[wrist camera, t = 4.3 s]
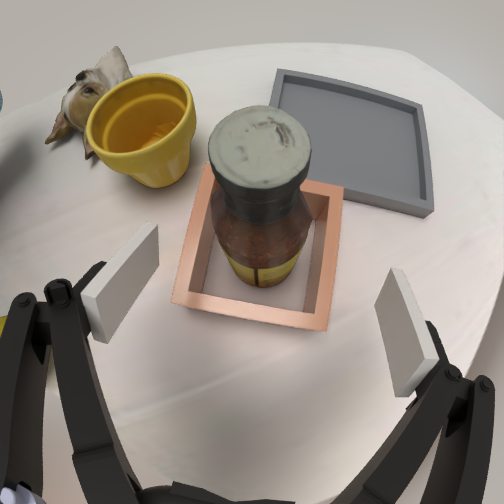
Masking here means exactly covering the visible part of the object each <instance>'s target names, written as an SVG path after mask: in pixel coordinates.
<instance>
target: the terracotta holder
mask: <svg viewBox="0 0 504 504" xmlns="http://www.w3.org/2000/svg"><path fill="white" fill-rule="evenodd" d="M219 187H220V184H219V183H218V182H217V180H216V179H215V176H214V174H213V172H212V168H211V165H210V164H208V163H205V166H204V169H203V173H202V176H201V180H200V183H199V187H198V190H197V194H196V198H195V202H194V205H193V209H192V213H191V217H190V221H189V225H188V229H187V233H186V237H185V241H184V245H183V249H182V253H181V257H180V262H179V266H178V270H177V275H176V279H175V284H174V289H173V293H172V298H171V303H173V304H177V305H180V306H183V307H187V308H192V309H196V310H201V311H206V312H210V313H215V314H220V315H225V316H230V317H236V318H241V319H246V320H252V321H257V322H263V323H269V324H274V325H280V326H286V327H293V328H299V329H305V330H312V331H327V327H328V321H329V315H330V308H331V302H332V295H333V288H334V280H335V272H336V264H337V256H338V247H339V238H340V228H341V217H342V205H343V192H344V187H341V186H336V185H332V184H327V183H322V182H317V181H312V180H307V179H305V180H304V182H303V183H302V184H301V185H300V190H301V192H302V194H303V196H304V198H305V200H306V203H307V205H308V207H309V209H310V212H311V214H312V216H313V218H312V219H315V220H316V227H315V234H314V242H313V249H312V257H311V264H310V271H309V277H308V284H307V290H306V297H305V303H304V309H303V312H298V311H292V310H286V309H280V308H274V307H268V306H263V305H257V304H252V303H246V302H241V301H236V300H230V299H225V298H220V297H215V296H210V295H205V294H202V289H203V284H204V279H205V275H206V270H207V265H208V261H209V256H210V252H211V247H212V243H213V238H214V234H215V230H214V227H213V224H212V214H211V198H212V194H213V193H214V192H215V191H216V190H217V189H218V188H219Z"/></svg>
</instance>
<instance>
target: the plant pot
mask: <svg viewBox="0 0 504 504" xmlns="http://www.w3.org/2000/svg"><path fill="white" fill-rule="evenodd" d="M195 129H196V112H195V106H194V102H193V98H192V94H191V92H190V89H189V88H188V86H187V85H186V84H185V83H184V82H183V81H182V80H180V79H178V78H176V77H174V76H171V75H168V74H161V73H151V74H144V75H139V76H136V77H133V78H130V79H128V80H125V81H123V82H122V83H120V84H118V85H116V86H115V87H113V88H112V89H111V90H109V91H108V92H107V93H106V94H105V95H104V96H103V97H102V98H101V99H100V100H99V101H98V102H97V104H96V105H95V106H94V108H93V109H92V111H91V113H90V115H89V118H88V121H87V126H86V136H87V140H88V142H89V145H90V146H91V148H92V149H93V150H94V152H95V153H96V154H97V156H98V157H99V158H100V159H101V160H102V161H103V162H104V163H105V164H106V165H107V166H108V167H109V168H110V169H112V170H114V171H116V172H119V173H124V174H128V175H130V176H131V177H133V178H134V179H136V180H137V181H139V182H140V183H142V184H143V185H145V186H148V187H152V188H161V187H165V186H168V185H171V184H173V183H174V182H176V181H177V180H178V179H180V178H181V177H182V176H183V174H184V173H185V171H186V170H187V167H188V164H189V156H190V141H191V139H192V137H193V135H194V132H195Z"/></svg>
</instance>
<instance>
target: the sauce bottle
mask: <svg viewBox="0 0 504 504" xmlns="http://www.w3.org/2000/svg"><path fill="white" fill-rule="evenodd" d="M311 153H312V149H311V141H310V137H309V134H308V132H307V131H306V129H305V128H304V127H303V126H302V124H301V123H300V122H299V121H298V120H296V119H295V118H294V117H293V116H291V115H290V114H288V113H286V112H285V111H283V110H280V109H276V108H274V107H270V106H251V107H247V108H243V109H240V110H237V111H234V112H233V113H231V114H230V115H228V116H227V117H225V118H224V119H223V120H222V121H220V122H219V123H218V124H217V125H216V127H215V129H214V131H213V132H212V134H211V136H210V138H209V143H208V155H209V160H210V165H211V168H212V172H213V174H214V176H215V179H216V180H217V182H218V183H219V184H220V187H219V188H218V189H217V190H216V191H215V192H214V193H213V194H212V198H211V214H212V224H213V227H214V230H215V232H216V234H217V237H218V240H219V243H220V245H221V247H222V249H223V251H224V253H225V255H226V256H227V258H228V260H229V262H230V264H231V266H232V268H233V270H234V271H235V273H236V274H237V275H238V276H239V277H240V278H241V279H242V280H243V281H245V282H246V283H248V284H250V285H253V286H256V287H269V286H272V285H275V284H278V283H280V282H281V281H283V280H284V279H285V278H286V277H287V276H288V275H289V274H290V272H291V271H292V269H293V267H294V265H295V263H296V261H297V259H298V257H299V255H300V252H301V250H302V248H303V246H304V243H305V241H306V238H307V235H308V230H309V228H310V224H311V222H312V218H313V216H312V214H311V212H310V209H309V207H308V205H307V203H306V200H305V198H304V196H303V194H302V192H301V190H300V185H301V184H302V183H303V182H304V180H305V179H306V177H307V175H308V171H309V166H310V159H311Z"/></svg>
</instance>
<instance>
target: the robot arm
mask: <svg viewBox="0 0 504 504" xmlns="http://www.w3.org/2000/svg"><path fill="white" fill-rule="evenodd" d="M2 103H3V99H2V94H1V91H0V111H1V109H2ZM158 266H159V246H158V224H155V223H149V222H145V223H144V224H143V225H142V226H141V227H140V228H139V229H138V230H137V231H136V232H135V233H134V235H133V236H132V237H131V238H130V239H129V240H128V241H127V242H126V243H125V244H124V245H123V246H122V247H121V248H120V249H119V250H118V251H117V253H116V254H115V255H114V256H113V257H112V258H111V259H110V260H109V261H108V262H103V261H101V262H99V263H97V264H95V265H93V266H92V267H91V268H90V269H89V271H88V272H87V273H86V274H85V275H84V276H83V278H81V279H80V280H79V281H78V283H77V284H76V285H75V286H74V287H73V288H72V285H71V283H70V281H68V280H67V279H55V280H53V281H51V282H49V283H48V284H47V285H46V286H45V288H44V294H45V297H46V300H47V302H37V299H36V297H35V295H34V294H33V293H30V292H25V293H21V294H19V295H18V296H16V297H15V298H14V300H13V302H12V304H11V307H10V310H9V312H8V315H7V318H6V321H5V324H4V327H3V330H2V334H1V337H0V504H46V502H45V501H44V500H43V499H42V490H43V461H42V460H43V458H42V437H43V412H44V398H45V387H46V378H47V370H48V362H49V355H50V349H51V345H52V349H53V357H54V364H55V370H56V376H57V382H58V388H59V393H60V398H61V403H62V407H63V411H64V416H65V420H66V424H67V428H68V432H69V435H70V439H71V442H72V446H73V450H74V453H73V455H72V460H73V464H74V467H75V470H76V473H77V476H78V479H79V482H80V485H81V487H82V490H83V492H84V495H85V498H86V500H87V503H88V504H295V502H292V501H279V500H269V499H263V500H252V501H238V502H234V501H230V500H227V499H225V498H223V497H220V496H218V495H216V494H214V493H211V492H209V491H207V490H205V489H203V488H198V487H194V486H190V485H186V484H182V483H178V482H175V481H173V483H172V486H168V485H165V486H155V487H150V488H146V489H144V490H143V489H142V487H141V485H140V483H139V481H138V479H137V477H136V475H135V474H134V472H133V470H132V468H131V466H130V464H129V462H128V459H127V457H126V455H125V452H124V450H123V448H122V445H121V443H120V440H119V438H118V435H117V433H116V430H115V427H114V425H113V422H112V419H111V416H110V413H109V411H108V408H107V405H106V402H105V399H104V396H103V392H102V389H101V386H100V383H99V379H98V376H97V372H96V369H95V365H94V361H93V358H92V354H91V350H90V346H89V341H88V338H87V336H88V334H89V333H90V332H92V335H93V339H94V340H97V341H100V342H102V343H105V344H108V343H109V341H110V339H111V338H112V336H113V335H114V333H115V331H116V330H117V328H118V327H119V325H120V323H121V322H122V320H123V319H124V317H125V316H126V314H127V313H128V311H129V309H130V308H131V306H132V305H133V303H134V302H135V300H136V299H137V297H138V296H139V294H140V293H141V291H142V290H143V288H144V287H145V285H146V284H147V282H148V281H149V279H150V278H151V276H152V275H153V273H154V272H155V271H156V269H157V268H158ZM374 306H375V310H376V313H377V317H378V321H379V325H380V329H381V333H382V337H383V342H384V346H385V350H386V355H387V359H388V364H389V368H390V373H391V378H392V383H393V388H394V394H395V397H409V396H410V395H411V394H412V393H413V392H414V391H416V395H417V397H416V398H415V399H414V400H413V401H412V402H411V403H410V404H409V406H408V407H407V408H406V410H407V411H406V412H405V414H404V415H403V417H402V418H401V420H400V421H399V422H398V424H397V425H396V427H395V428H394V430H393V431H392V432H391V434H390V435H389V436H388V438H387V439H386V440H385V442H384V443H383V444H382V446H381V447H380V448H379V450H378V451H377V452H376V453H375V455H374V456H373V457H372V458H371V460H370V461H369V462H368V463H367V464H366V466H365V467H364V468H363V469H362V470H361V471H360V473H359V474H358V475H357V476H356V477H355V478H354V479H353V481H352V482H351V483H350V484H349V485H348V486H347V487H346V488H345V489H344V490H343V491H342V492H341V494H340V495H339V496H338V497H337V498H336V499H335V500H334V501H333V502H332V503H330V504H395V503H396V501H397V500H398V498H399V497H400V496H401V494H402V493H403V491H404V490H405V488H406V487H407V486H408V484H409V482H410V481H411V480H412V478H413V476H414V475H415V473H416V472H417V470H418V468H419V467H420V465H421V464H422V462H423V460H424V459H425V457H426V455H427V454H428V452H429V450H430V448H431V447H432V445H433V443H434V441H435V439H436V437H437V435H438V434H439V432H440V430H441V428H442V431H441V435H440V439H439V443H438V447H437V451H436V455H435V459H434V462H433V466H432V469H431V472H430V476H429V479H428V482H427V485H426V488H425V491H424V494H423V496H422V499H421V502H420V504H482V499H483V495H484V490H485V485H486V480H487V475H488V469H489V462H490V455H491V447H492V438H493V426H494V408H495V388H494V384H493V382H492V381H491V380H490V379H489V378H488V377H486V376H484V375H479V376H478V377H477V378H476V379H475V380H474V381H471V380H468V379H465V378H463V376H462V373H461V372H460V370H459V369H458V368H457V367H456V366H454V365H452V364H450V363H449V361H448V358H447V355H446V353H445V350H444V347H443V345H442V344H441V340H440V338H439V335H438V332H437V330H436V328H435V327H434V326H433V324H432V323H431V322H430V321H425V320H424V318H423V315H422V313H421V310H420V308H419V305H418V303H417V301H416V298H415V296H414V294H413V292H412V289H411V287H410V285H409V283H408V280H407V278H406V276H405V274H404V272H403V270H401V269H396V268H391V269H390V271H389V273H388V276H387V278H386V280H385V283H384V285H383V287H382V289H381V292H380V294H379V296H378V298H377V300H376V303H375V305H374Z"/></svg>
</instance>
